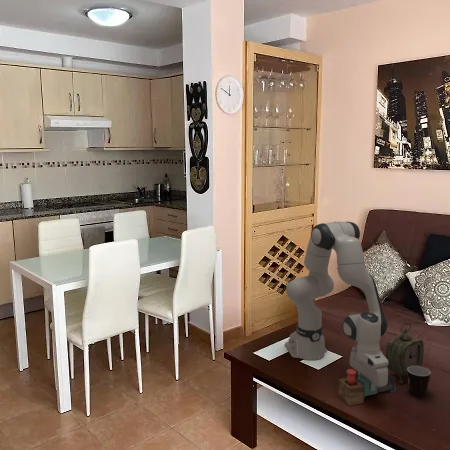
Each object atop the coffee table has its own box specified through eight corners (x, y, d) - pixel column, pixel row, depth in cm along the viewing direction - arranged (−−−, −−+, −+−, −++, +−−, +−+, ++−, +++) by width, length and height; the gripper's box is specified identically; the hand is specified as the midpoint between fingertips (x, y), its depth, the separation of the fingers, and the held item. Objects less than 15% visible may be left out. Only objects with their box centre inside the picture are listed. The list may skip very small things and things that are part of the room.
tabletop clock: (401, 386, 193) (403, 329, 189) (383, 377, 201) (385, 323, 197) (422, 376, 201) (425, 322, 197) (404, 368, 209) (406, 315, 204)
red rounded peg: (344, 383, 185) (345, 369, 184) (352, 381, 186) (352, 368, 185) (349, 387, 181) (350, 374, 180) (357, 386, 182) (358, 372, 181)
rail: (355, 394, 187) (355, 381, 186) (389, 387, 193) (390, 373, 192) (361, 399, 184) (361, 385, 183) (396, 392, 189) (396, 378, 188)
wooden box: (338, 395, 187) (339, 379, 186) (351, 392, 189) (351, 376, 188) (350, 405, 180) (350, 389, 179) (363, 402, 182) (363, 386, 181)
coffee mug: (410, 386, 193) (411, 363, 192) (431, 392, 188) (433, 369, 186) (400, 398, 185) (401, 374, 183) (423, 405, 179) (424, 381, 177)
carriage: (356, 390, 188) (357, 377, 187) (369, 387, 190) (369, 374, 189) (364, 396, 183) (364, 382, 182) (377, 393, 185) (377, 380, 184)
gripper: (346, 344, 193) (345, 375, 195) (377, 366, 173) (376, 400, 176) (359, 342, 195) (358, 373, 197) (391, 363, 176) (390, 397, 178)
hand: (367, 386), depth 186 cm, fingers closed on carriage, 5 cm apart
